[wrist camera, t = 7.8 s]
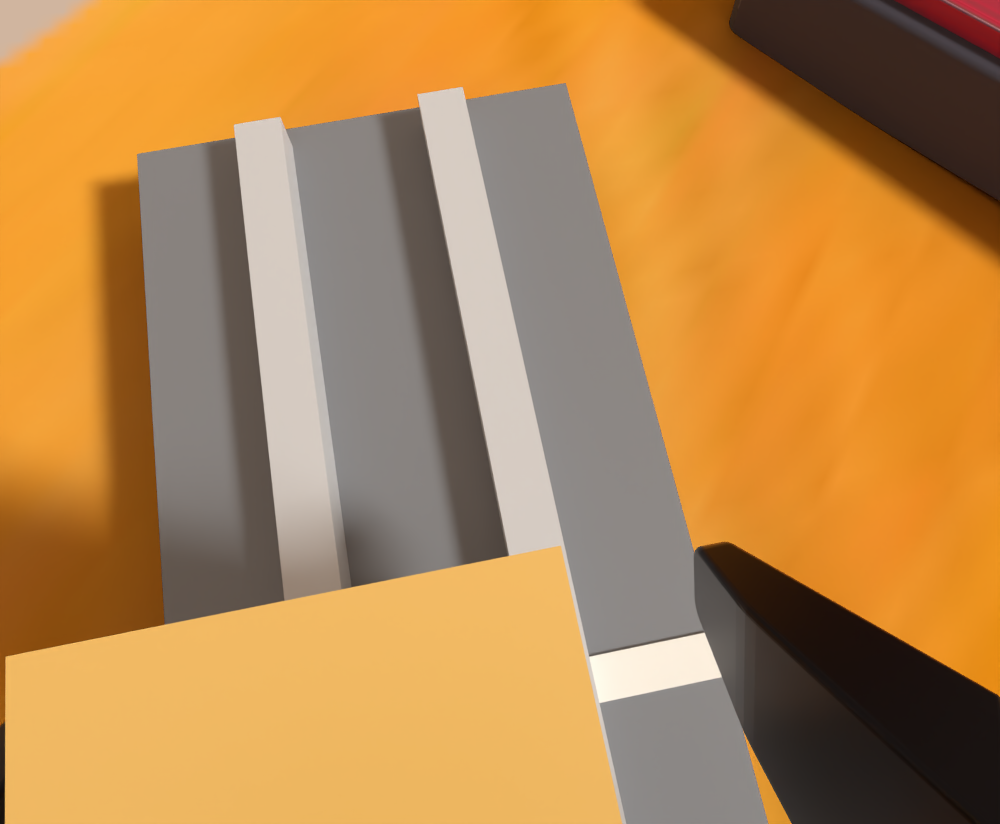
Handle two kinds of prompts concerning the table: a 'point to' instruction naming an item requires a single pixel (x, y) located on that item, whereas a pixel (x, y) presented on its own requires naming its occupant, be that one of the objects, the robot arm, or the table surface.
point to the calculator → (897, 69)
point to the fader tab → (323, 711)
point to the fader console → (428, 401)
